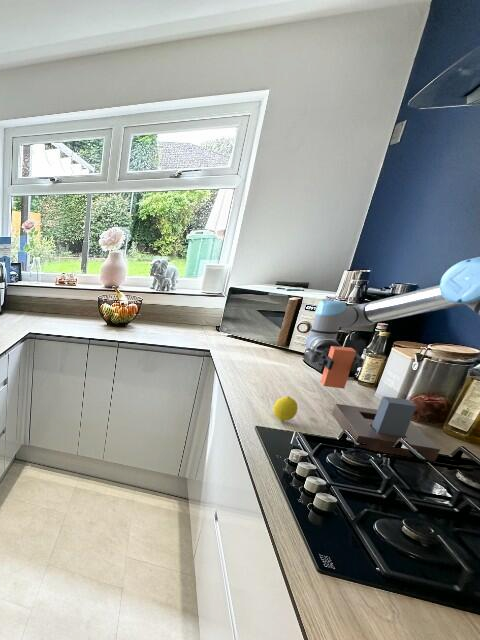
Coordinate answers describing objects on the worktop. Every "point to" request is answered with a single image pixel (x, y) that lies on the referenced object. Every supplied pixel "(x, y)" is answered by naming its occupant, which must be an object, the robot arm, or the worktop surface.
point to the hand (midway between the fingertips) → (343, 366)
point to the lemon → (285, 408)
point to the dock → (362, 431)
